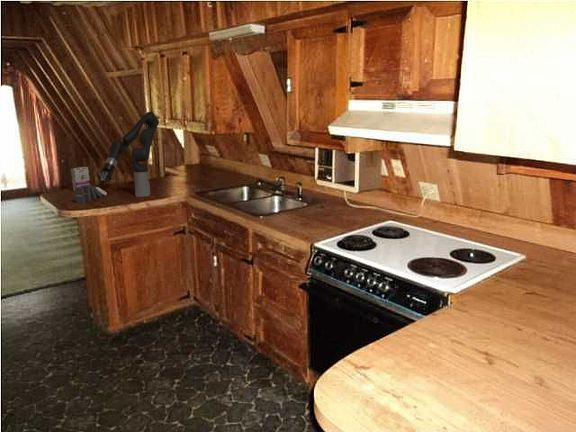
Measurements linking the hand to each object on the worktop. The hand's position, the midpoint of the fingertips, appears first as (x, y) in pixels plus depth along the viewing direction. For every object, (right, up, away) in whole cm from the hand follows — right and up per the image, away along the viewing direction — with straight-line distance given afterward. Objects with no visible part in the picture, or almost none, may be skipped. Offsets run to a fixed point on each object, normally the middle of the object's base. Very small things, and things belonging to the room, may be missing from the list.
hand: (100, 186), depth 314 cm
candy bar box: (-21, -2, +17) cm, 27 cm away
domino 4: (-1, -7, -2) cm, 7 cm away
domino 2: (-4, -11, -12) cm, 17 cm away
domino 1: (-6, -12, -18) cm, 22 cm away
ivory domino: (0, -5, +4) cm, 6 cm away
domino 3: (-2, -9, -7) cm, 11 cm away
